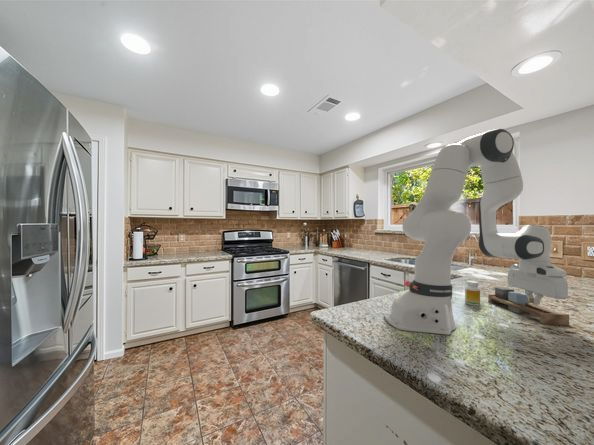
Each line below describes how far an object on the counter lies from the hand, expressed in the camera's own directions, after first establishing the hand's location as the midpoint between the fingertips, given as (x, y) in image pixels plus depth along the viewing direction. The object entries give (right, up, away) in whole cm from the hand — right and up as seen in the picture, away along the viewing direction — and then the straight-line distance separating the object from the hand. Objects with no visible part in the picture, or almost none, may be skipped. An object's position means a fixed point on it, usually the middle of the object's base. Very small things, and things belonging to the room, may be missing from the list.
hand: (533, 303), depth 92 cm
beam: (0, -5, +4) cm, 6 cm away
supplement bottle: (-14, -5, +13) cm, 20 cm away
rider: (0, -3, +7) cm, 7 cm away
